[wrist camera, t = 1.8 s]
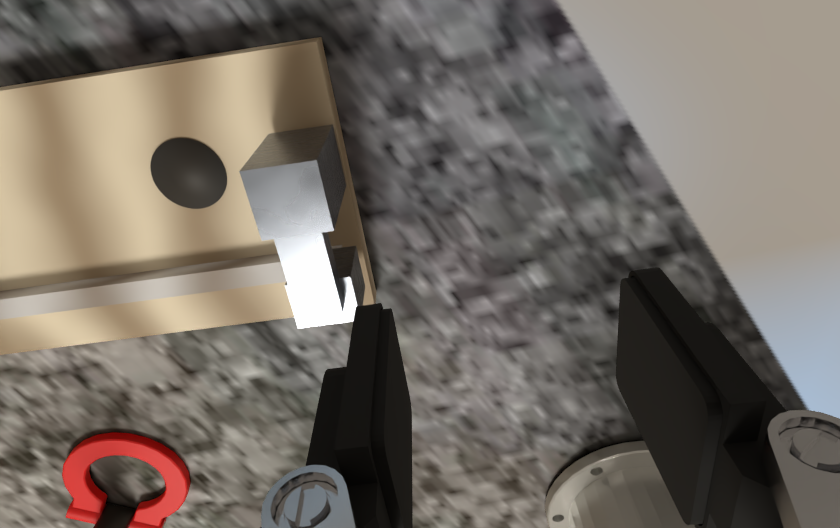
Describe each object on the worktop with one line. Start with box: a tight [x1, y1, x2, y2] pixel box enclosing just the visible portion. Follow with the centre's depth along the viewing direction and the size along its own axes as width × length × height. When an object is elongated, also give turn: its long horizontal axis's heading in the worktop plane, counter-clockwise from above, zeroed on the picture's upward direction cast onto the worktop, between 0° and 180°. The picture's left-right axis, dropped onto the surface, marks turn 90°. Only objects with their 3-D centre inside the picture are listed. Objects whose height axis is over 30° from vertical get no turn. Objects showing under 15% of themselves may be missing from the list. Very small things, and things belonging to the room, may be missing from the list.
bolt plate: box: [0, 37, 376, 355], centre depth 26 cm, size 27×14×7 cm, turn 98°
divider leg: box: [239, 124, 365, 328], centre depth 25 cm, size 3×8×5 cm, turn 8°
